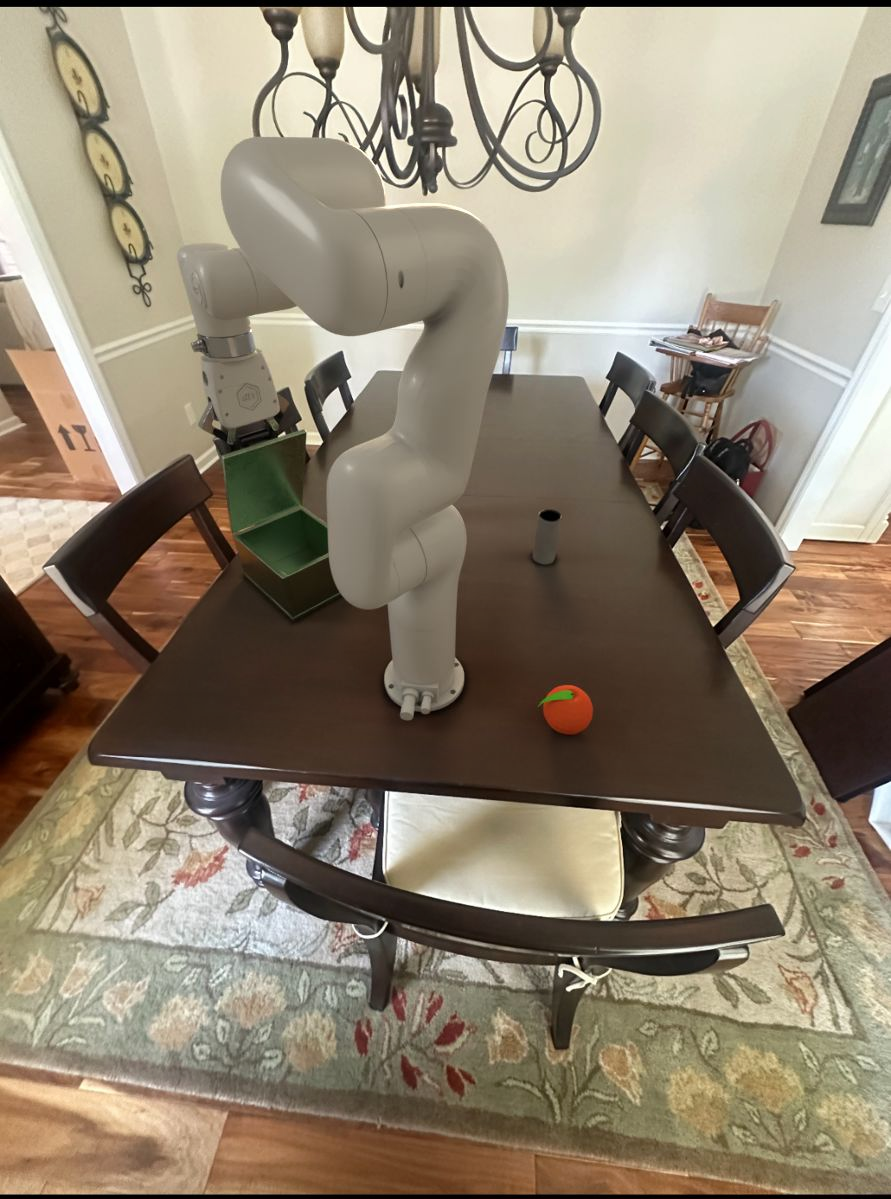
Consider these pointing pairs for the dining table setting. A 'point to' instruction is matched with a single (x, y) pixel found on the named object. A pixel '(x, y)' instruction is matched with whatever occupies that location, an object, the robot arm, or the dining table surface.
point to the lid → (264, 477)
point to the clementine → (567, 709)
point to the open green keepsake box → (289, 561)
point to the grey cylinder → (547, 536)
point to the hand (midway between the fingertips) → (256, 456)
